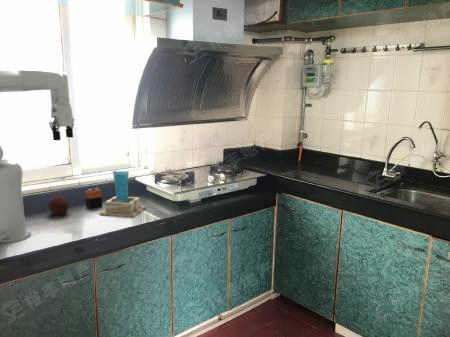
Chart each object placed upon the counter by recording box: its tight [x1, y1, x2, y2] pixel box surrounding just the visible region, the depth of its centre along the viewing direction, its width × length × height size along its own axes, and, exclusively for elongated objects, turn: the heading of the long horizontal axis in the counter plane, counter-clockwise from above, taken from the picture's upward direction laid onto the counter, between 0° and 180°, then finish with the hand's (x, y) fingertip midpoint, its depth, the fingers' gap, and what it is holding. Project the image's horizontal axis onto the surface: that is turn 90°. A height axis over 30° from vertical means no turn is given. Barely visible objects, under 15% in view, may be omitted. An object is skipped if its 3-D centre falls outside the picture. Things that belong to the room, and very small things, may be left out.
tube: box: [112, 170, 129, 203], centre depth 184 cm, size 7×5×19 cm, turn 95°
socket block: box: [98, 195, 146, 219], centre depth 186 cm, size 15×17×6 cm
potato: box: [47, 195, 70, 216], centre depth 181 cm, size 9×12×9 cm
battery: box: [84, 187, 103, 211], centre depth 192 cm, size 4×7×10 cm, turn 136°
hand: (63, 138), depth 175 cm, fingers open, 9 cm apart
